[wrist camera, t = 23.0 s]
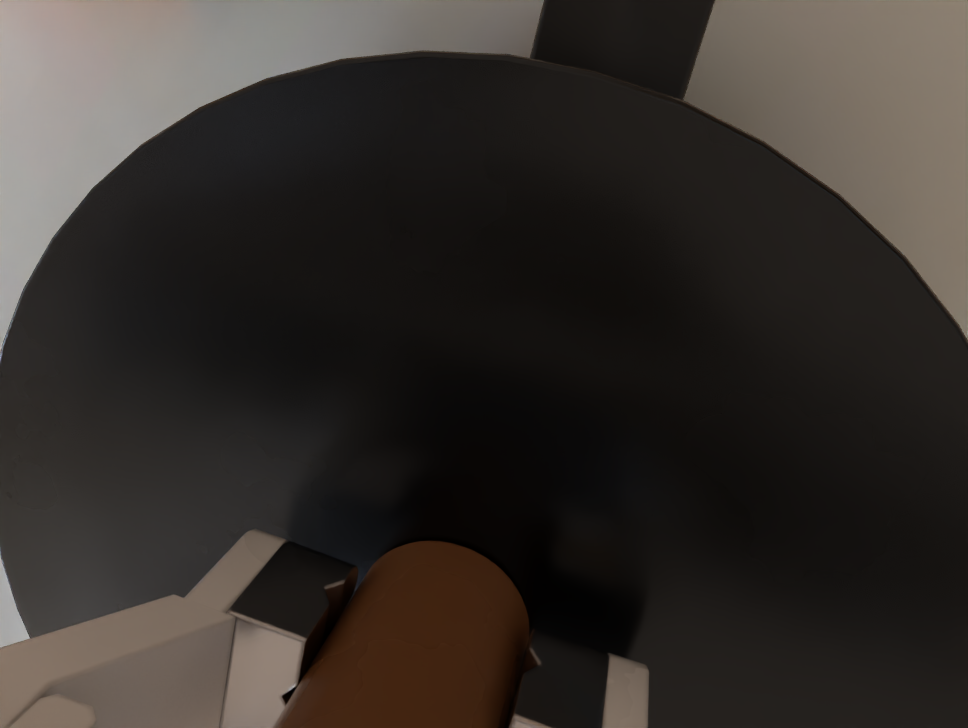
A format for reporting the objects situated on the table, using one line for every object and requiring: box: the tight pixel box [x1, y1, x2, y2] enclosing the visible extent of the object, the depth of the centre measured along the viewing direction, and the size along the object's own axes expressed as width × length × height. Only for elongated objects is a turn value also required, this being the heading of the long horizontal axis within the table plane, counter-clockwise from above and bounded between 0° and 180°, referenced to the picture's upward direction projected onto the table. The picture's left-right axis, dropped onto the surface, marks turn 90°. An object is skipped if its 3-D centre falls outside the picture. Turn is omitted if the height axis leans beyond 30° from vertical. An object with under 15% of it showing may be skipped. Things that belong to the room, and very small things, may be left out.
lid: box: [0, 51, 968, 728], centre depth 10 cm, size 14×14×5 cm
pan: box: [530, 0, 715, 100], centre depth 16 cm, size 13×19×4 cm
